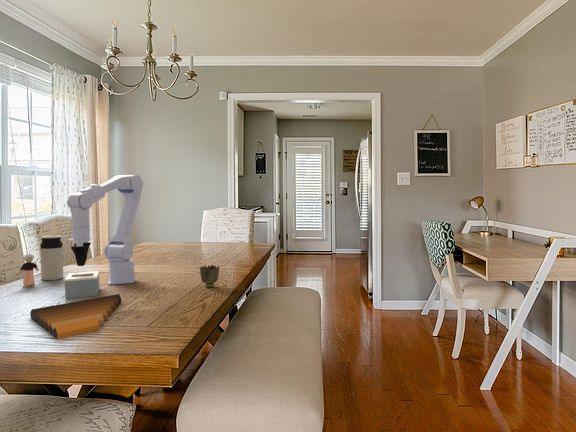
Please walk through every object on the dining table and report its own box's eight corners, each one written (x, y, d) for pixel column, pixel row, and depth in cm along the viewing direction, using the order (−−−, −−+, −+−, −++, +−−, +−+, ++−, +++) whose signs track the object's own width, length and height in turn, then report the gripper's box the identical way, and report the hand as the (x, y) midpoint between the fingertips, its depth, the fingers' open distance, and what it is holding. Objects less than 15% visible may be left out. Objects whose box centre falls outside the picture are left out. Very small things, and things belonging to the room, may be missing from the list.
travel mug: (67, 277, 174) (66, 235, 173) (55, 281, 166) (53, 237, 165) (50, 276, 175) (48, 234, 174) (36, 280, 167) (35, 236, 166)
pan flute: (117, 303, 135) (30, 319, 117) (116, 293, 135) (29, 308, 117) (153, 319, 117) (57, 342, 100) (152, 308, 117) (57, 328, 99)
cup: (223, 287, 156) (223, 266, 155) (207, 290, 150) (207, 269, 150) (211, 284, 161) (211, 264, 160) (196, 287, 155) (195, 266, 155)
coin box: (99, 288, 154) (98, 271, 153) (97, 295, 142) (97, 277, 142) (69, 290, 150) (68, 273, 149) (65, 298, 139) (64, 279, 138)
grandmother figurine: (25, 288, 153) (24, 255, 152) (17, 288, 154) (16, 254, 153) (42, 284, 160) (41, 252, 160) (33, 283, 161) (32, 251, 160)
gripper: (70, 225, 151) (71, 261, 151) (65, 228, 137) (67, 268, 138) (91, 224, 153) (92, 260, 154) (89, 227, 140) (90, 266, 141)
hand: (81, 264), depth 146 cm, fingers open, 7 cm apart
